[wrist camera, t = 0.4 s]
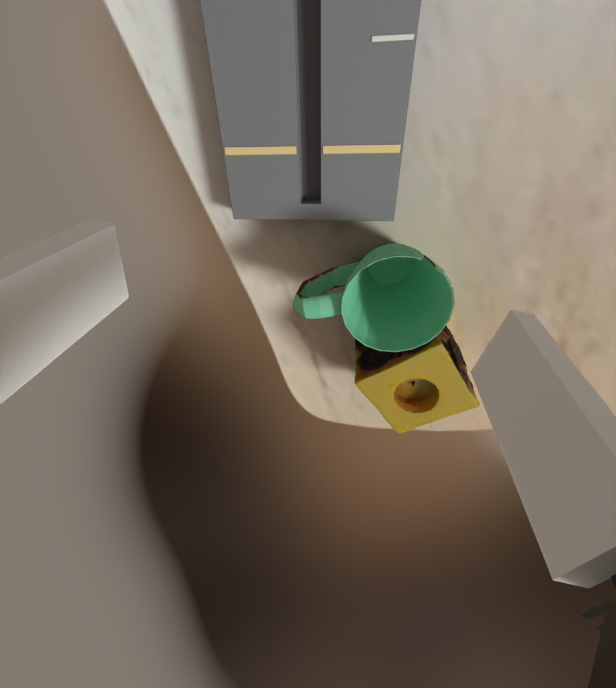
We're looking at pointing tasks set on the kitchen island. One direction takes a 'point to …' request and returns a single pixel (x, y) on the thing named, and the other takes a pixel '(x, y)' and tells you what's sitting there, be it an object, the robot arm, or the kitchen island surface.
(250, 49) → the console
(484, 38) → the kitchen island surface
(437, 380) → the yellow cube with holes
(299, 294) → the mug
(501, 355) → the robot arm
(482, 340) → the kitchen island surface
